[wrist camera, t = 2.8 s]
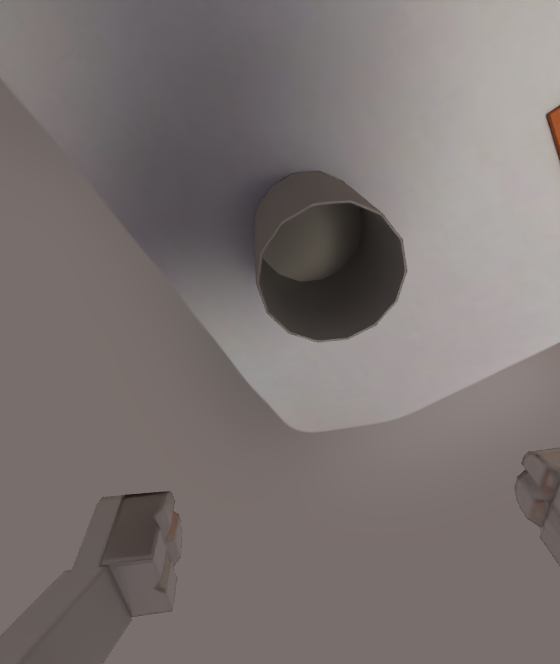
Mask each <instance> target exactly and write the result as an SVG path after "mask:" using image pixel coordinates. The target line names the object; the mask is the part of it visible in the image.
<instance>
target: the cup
mask: <svg viewBox="0 0 560 664" xmlns="http://www.w3.org/2000/svg"><path fill="white" fill-rule="evenodd" d="M254 249H255V267H256V284H257V287H258V290H259V293H260V296H261V298H262V301H263V304H264V307H265V310H266V312H267V314H268V315H269V316H270V317H271V318H273V319H274V320H275V321H276V322H277V323H278V324H279V325H280V326H281V327H282V328H283V329H284V330H285V331H287V332H288V333H289V334H292V335H295V336H299V337H302V338H305V339H308V340H311V341H314V342H326V341H337V340H347V339H350V338H352V337H354V336H356V335H358V334H360V333H362V332H363V331H365V330H367V329H369V328H371V327H373V326H375V325H377V324H378V322H379V321H380V320H381V319H382V318H383V317H384V316H385V314H386V313H387V312H388V311H389V310H390V309H391V308H392V307H393V305H394V304H395V303H396V302H397V301H398V298H399V294H400V291H401V288H402V285H403V282H404V279H405V276H406V273H407V266H406V259H405V252H404V246H403V239H402V238H401V237H400V235H399V234H398V233H397V231H396V230H395V229H394V228H393V226H392V225H391V224H390V222H389V221H388V220H387V219H386V217H385V216H384V215H383V213H381V212H380V211H379V210H378V209H377V208H375V207H374V206H373V205H372V204H370V203H369V202H368V201H367V200H366V199H364V198H363V197H362V196H361V195H359V194H358V193H357V192H356V191H355V190H353V189H352V188H351V187H350V186H348V185H347V184H346V183H345V182H343V181H342V180H340V179H337V178H335V177H332V176H330V175H328V174H325V173H323V172H321V171H313V172H301V173H293V174H291V175H290V176H288V177H286V178H285V179H283V180H281V181H280V182H278V183H277V184H275V185H273V186H272V187H271V188H270V189H269V191H268V192H267V194H266V195H265V197H264V198H263V200H262V202H261V203H260V205H259V206H258V208H257V211H256V219H255V227H254Z"/></svg>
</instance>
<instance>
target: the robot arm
mask: <svg viewBox="0 0 560 664" xmlns="http://www.w3.org/2000/svg"><path fill="white" fill-rule="evenodd" d="M522 465H523V466H524V468H525V469H526V470H524V471H523V472H522V473H521V474H520V475H519V476H518V477H517V480H516V484H515V492H516V499H517V501H518V503H519V506H520V508H521V510H522V511H523V513H524V514H525V516H526V518H527V519H528V520H530V521H531V522H533V523H535V524H536V525H538V526H539V527H540V538H541V540H542V541H543V542H544V544H545V545H546V547H547V548H548V550H549V551H550V553H551V554H552V556H553V557H554V558H555V560H556V561H557V563H558V564H559V566H560V448H553V449H545V450H538V451H529V452H527V453H526V454H525V455H524V457H523V460H522ZM174 504H175V500H174V497H173V494H172V492H171V491H170V492H169V491H167V492H154V493H142V494H130V495H121V496H110V497H102V498H101V499H100V501H99V502H98V503H97V505H96V508H95V510H94V513H93V515H92V518H91V521H90V524H89V526H88V528H87V531H86V534H85V536H84V539H83V542H82V545H81V547H80V550H79V552H78V555H77V557H76V560H75V563H74V566H73V568H72V570H68V571H64V572H63V573H62V574H61V575H60V576H59V577H58V578H57V579H56V580H55V581H54V582H53V583H52V584H51V585H50V586H49V587H48V588H47V589H46V590H45V591H44V592H43V593H42V594H41V595H40V596H39V597H38V598H37V599H36V600H35V601H34V602H33V603H32V604H31V605H30V607H28V608H27V609H26V610H25V612H23V613H22V614H21V615H20V616H19V618H17V619H16V620H15V622H14V623H13V624H12V625H11V626H10V627H9V628H8V629H7V630H6V631H5V632H4V633H3V634H2V635H1V636H0V664H103V663H104V661H105V660H106V658H107V657H108V655H109V653H110V652H111V651H112V649H113V648H114V646H115V644H116V643H117V642H118V640H119V638H120V637H121V635H122V634H123V633H124V631H125V630H126V628H127V626H128V625H129V624H130V622H131V620H132V619H131V617H136V616H143V615H150V614H156V613H163V612H170V611H172V610H173V603H174V596H175V590H176V583H177V576H176V574H175V570H174V565H175V564H176V563H177V562H178V560H179V559H180V556H181V548H182V527H181V520H180V517H179V514H178V513H176V512H175V511H173V510H174Z"/></svg>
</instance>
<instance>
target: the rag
mask: <svg viewBox="0 0 560 664" xmlns="http://www.w3.org/2000/svg"><path fill="white" fill-rule="evenodd" d="M547 117H548V120H549V123H550V127H551V130H552V134H553V137H554V140H555V144H556V147H557V150H558V154H559V157H560V106H559V107H558V108H556V109H554V110H553V111H551V112H550V113H548V114H547Z"/></svg>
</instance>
